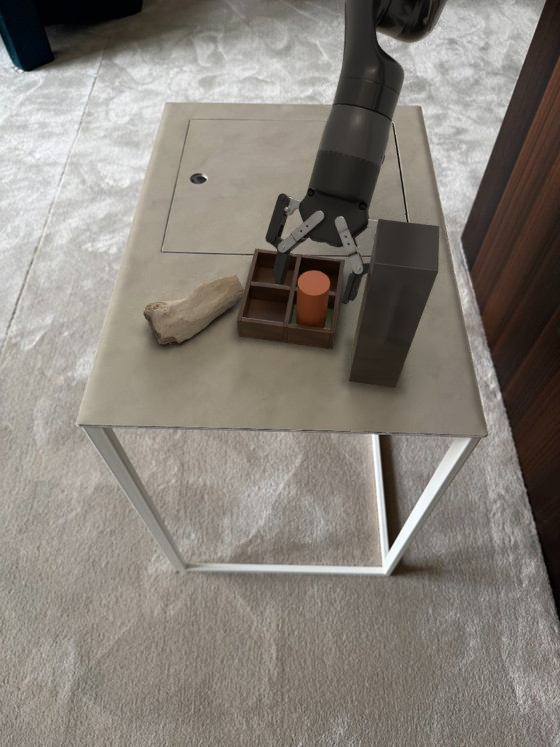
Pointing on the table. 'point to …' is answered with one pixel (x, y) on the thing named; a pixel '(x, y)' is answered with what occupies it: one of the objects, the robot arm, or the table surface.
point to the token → (312, 299)
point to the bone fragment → (192, 309)
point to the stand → (393, 299)
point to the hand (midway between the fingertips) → (311, 293)
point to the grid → (287, 300)
